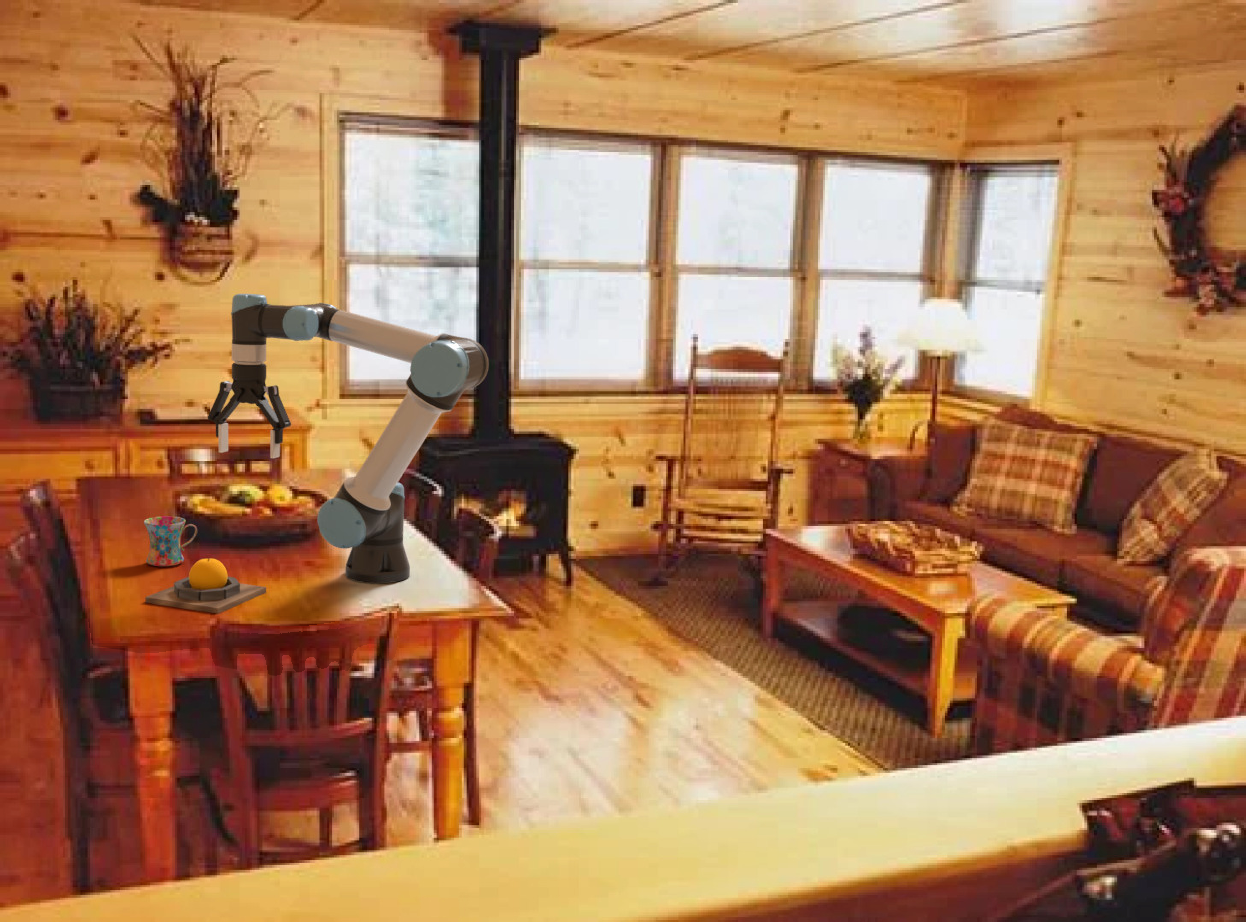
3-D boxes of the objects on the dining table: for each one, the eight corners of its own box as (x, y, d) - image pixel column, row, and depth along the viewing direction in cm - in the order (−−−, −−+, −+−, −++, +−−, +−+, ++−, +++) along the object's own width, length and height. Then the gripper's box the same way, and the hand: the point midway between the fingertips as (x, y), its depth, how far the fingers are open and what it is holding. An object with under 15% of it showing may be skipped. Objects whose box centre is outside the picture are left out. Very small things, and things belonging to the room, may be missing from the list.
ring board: (266, 592, 277) (266, 578, 276) (218, 613, 260) (218, 598, 259) (196, 582, 282) (196, 568, 281) (145, 602, 265) (145, 588, 264)
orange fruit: (181, 593, 268) (180, 560, 267) (204, 585, 276) (204, 552, 274) (212, 598, 266) (211, 564, 264) (235, 589, 273) (234, 556, 272)
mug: (147, 570, 289) (147, 526, 288) (141, 560, 297) (141, 517, 295) (201, 566, 295) (200, 522, 293) (193, 556, 303) (193, 514, 301)
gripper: (306, 365, 281) (305, 457, 284) (211, 357, 288) (211, 447, 291) (288, 368, 274) (288, 462, 277) (191, 359, 281) (192, 451, 284)
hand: (249, 454), depth 284 cm, fingers open, 13 cm apart
